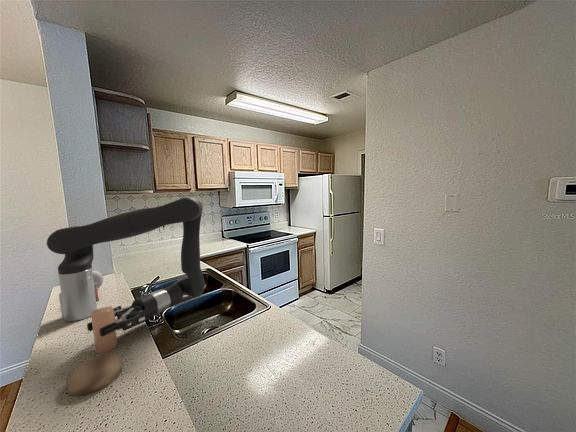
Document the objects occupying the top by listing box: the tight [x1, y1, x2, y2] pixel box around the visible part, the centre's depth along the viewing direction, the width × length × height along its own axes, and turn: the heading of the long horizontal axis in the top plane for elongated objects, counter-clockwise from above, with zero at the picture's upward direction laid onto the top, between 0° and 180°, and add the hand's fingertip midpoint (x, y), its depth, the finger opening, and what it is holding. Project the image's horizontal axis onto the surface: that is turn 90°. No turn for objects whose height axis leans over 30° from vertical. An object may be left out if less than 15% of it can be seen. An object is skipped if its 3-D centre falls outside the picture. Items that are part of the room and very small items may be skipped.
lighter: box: [93, 278, 100, 303], centre depth 101 cm, size 8×3×10 cm, turn 62°
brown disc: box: [66, 353, 123, 397], centre depth 56 cm, size 10×10×2 cm
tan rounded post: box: [90, 306, 118, 354], centre depth 68 cm, size 5×5×11 cm
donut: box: [92, 270, 104, 290], centre depth 111 cm, size 10×4×10 cm, turn 140°
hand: (94, 330), depth 65 cm, fingers open, 6 cm apart
